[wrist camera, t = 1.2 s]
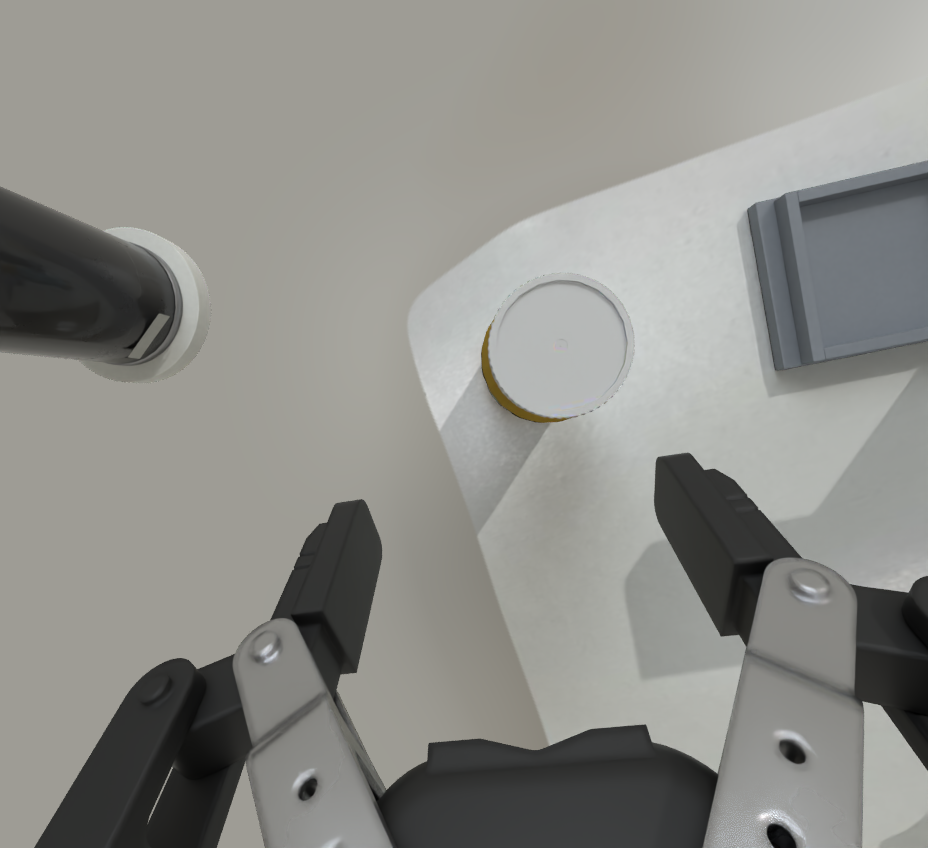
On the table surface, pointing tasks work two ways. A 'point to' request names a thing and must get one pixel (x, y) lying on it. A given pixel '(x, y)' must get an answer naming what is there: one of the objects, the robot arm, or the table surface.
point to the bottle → (557, 348)
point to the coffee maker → (845, 266)
